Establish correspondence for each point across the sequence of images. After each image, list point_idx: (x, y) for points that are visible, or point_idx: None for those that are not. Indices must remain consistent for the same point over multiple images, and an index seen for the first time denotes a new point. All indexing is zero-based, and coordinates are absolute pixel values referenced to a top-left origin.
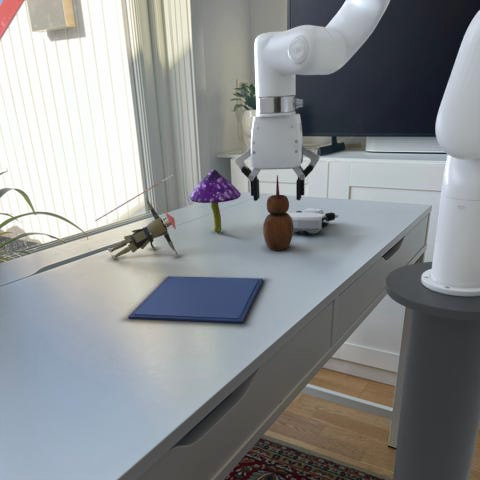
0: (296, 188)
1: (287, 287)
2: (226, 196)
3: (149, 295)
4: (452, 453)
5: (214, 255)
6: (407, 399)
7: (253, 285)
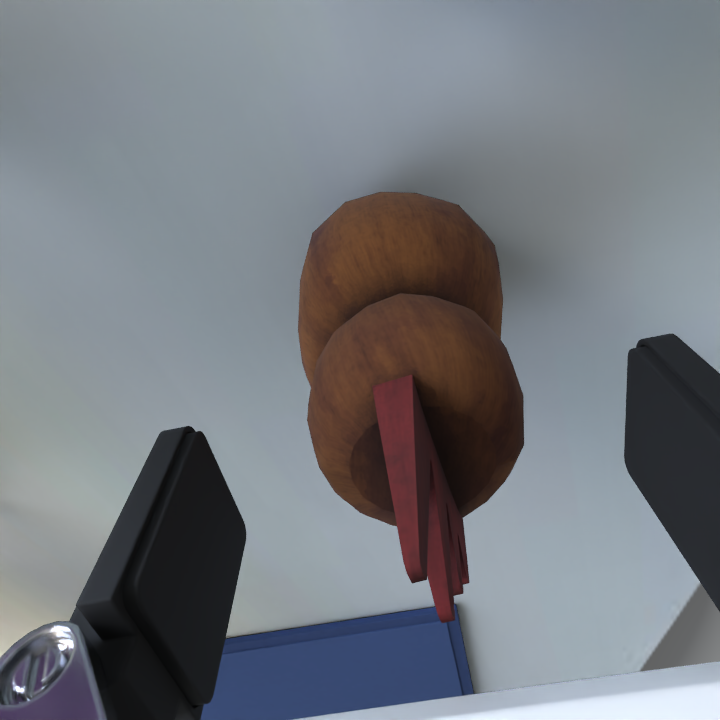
0: (683, 553)
1: (544, 622)
2: None
3: None
4: None
5: (123, 442)
6: None
7: (447, 655)
